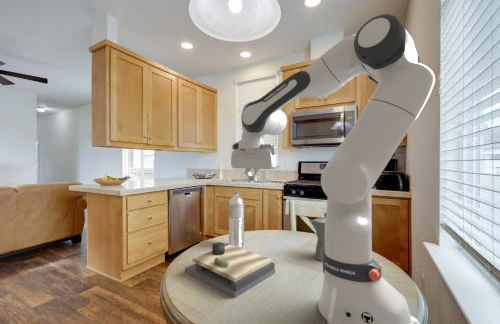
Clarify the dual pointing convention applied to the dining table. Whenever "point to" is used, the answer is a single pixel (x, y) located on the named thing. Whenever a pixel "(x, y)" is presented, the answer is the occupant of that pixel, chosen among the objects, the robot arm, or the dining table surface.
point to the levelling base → (228, 285)
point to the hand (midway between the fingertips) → (252, 180)
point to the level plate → (231, 261)
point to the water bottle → (236, 221)
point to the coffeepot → (319, 236)
